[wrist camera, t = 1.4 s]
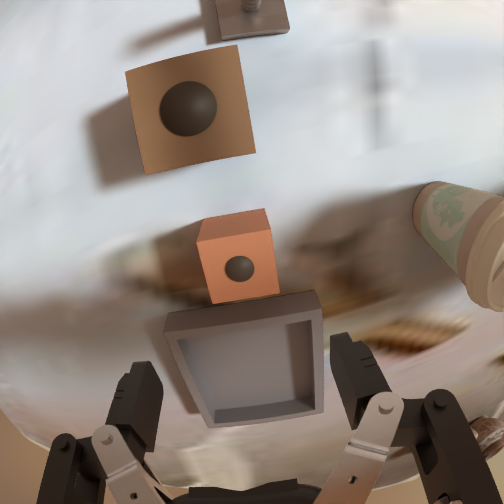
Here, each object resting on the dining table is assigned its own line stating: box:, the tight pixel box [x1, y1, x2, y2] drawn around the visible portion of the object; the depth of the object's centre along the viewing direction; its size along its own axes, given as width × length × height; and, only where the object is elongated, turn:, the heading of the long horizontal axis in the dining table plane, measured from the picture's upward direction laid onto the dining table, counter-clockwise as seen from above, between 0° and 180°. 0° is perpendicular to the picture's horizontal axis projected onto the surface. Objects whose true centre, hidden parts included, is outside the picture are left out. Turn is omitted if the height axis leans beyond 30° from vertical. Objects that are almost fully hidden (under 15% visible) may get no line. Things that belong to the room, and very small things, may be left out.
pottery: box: [470, 415, 504, 461], centre depth 41 cm, size 11×25×12 cm, turn 69°
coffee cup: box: [413, 181, 504, 312], centre depth 20 cm, size 8×8×12 cm
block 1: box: [125, 45, 256, 175], centre depth 18 cm, size 6×6×7 cm
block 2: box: [196, 208, 280, 304], centre depth 23 cm, size 5×5×5 cm
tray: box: [163, 290, 324, 428], centre depth 30 cm, size 14×16×3 cm
